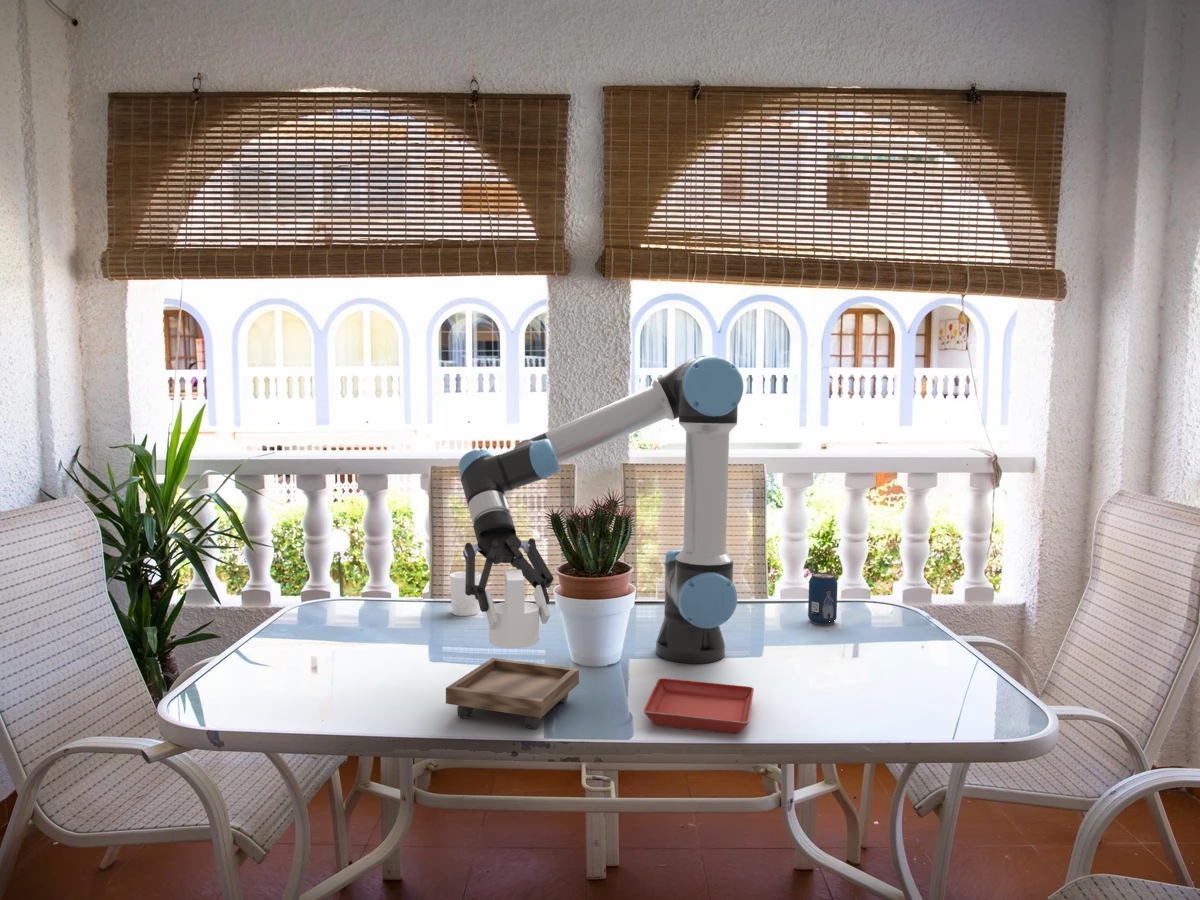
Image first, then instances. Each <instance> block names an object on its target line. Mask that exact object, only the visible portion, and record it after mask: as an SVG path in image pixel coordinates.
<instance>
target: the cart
mask: <svg viewBox="0 0 1200 900" xmlns="http://www.w3.org/2000/svg"><path fill="white" fill-rule="evenodd" d="M579 684H580V668H575V667H568V666H561V665H551V664H544V663H537V662H536V663H535V662H528V661H519V660H512V659H505V658H504V659H503V658H497V657H496V658H495V657H492V658H489V659H488V660H486V661H485V662H484V663H482V664H480V665H479V666H477V667H476V668H474V669H473V670H471V671H469V672H468V673H467V674H465V675H464V676H462V677H461V678H459V679H457V680H456V681H454V682H453V683H451V684H450V685H448V686H447V687H445V705H451V706H452V705H453V706H457V712H456V713H457V716H458V718H463V719H470V718H471V717H472V715H473V712H474V709H480V710H487V711H492V712H493V711H494V712H500V713H507V714H513V715H518V716H519V715H520V716H525V717H524V724H525V727H526V728H529V729H534V730H536V729H538V728H539V727H540V724H541V720H542V719H541V718H543V716H545V714H547V713H548V712H549V711H551V709H552V708H553V707H554V706H556V705H557V704H558V703H562V704H565V703H566V702H567V700H568V698H569V693H570V692H571V691H572V690H573V689H574V688H575V687H577V686H578V685H579Z"/></svg>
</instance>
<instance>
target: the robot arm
mask: <svg viewBox="0 0 1200 900" xmlns="http://www.w3.org/2000/svg"><path fill="white" fill-rule="evenodd" d="M743 394H744V381H743V377H742V374H741V372H740V370H739V369H738V367H737V366H736V365H735V364H734V363H733V362H731V361H730V360H728V359H727V358H725V357H721V356H720V355H712V354H708V355H702V356H699V357H694V358H691V359H689V360H687V361H685V362H683V363H681V364H680V365H679V366H677V367H676V368H674V369H673V370H671V371H669V372H667V373H665V374H663V375H661V376H660V377H657V378H655V379H653V382H652V384H651V385H650V386H648V387H645V388H644V389H642V390H639V391H637V392H634V393H631V394H630V395H627V396H625V397H623V398H620V399H618V400H616V401H614V402H612V403H611V402H610V404H607V405H605V406H603V407H600V408H598V409H596V410H594V411H593V410H592V411H591V412H589V413H586V414H584V415H582V416H580V417H579V416H578V417H577V418H575V419H573V420H570V421H569V422H566V423H563V424H561V425H559V426H557V427H555V428H552V429H550V430H548V431H546V432H543V433H542V434H539V435H536V436H534V437H531V438H530V439H525V440H522V441H520V442H519V443H517V444H516V445H515V446H514V448H513V449H511V450H508V451H506V452H503V453H499V454H498V455H497V454H496V455H494V454H493V453H492V452H491V451H489V450H488V449H480V450H478V449H474V450H473V449H472V450H471V451H468V452H466V453H465V454H464V455H463V456H462V457H461V458H460V460H459V462H458V470H459V474H460V475H459V476H460V480H459V481H460V482H461V486H462V489H463V493H464V496H465V500H466V504H467V507H468V511H469V514H470V519H471V523H472V525H473V532H474V534H475V535H474V536H475V539H476V541H477V543H474V544H472V543H470V542H466V543H465V545H464V548H463V550H462V554H463V557H464V559H465V571H466V582H465V593H466V595H468V596H470V595H475V599H477V600H478V602H479V611H481V612H482V613H486V618H487V622H488V627H489V626H490V629H491V630H495V628H496V626H497V623H498V619H497V615H496V611H495V607H494V604H495V603H494V600H493V597H492V592H491V589H486V588H487V583H488V580H489V577H490V573H491V570H492V566H493V565H499V564H510V566H512V567H513V568H516V569H520V570H521V571H522V574H523V577H524V579H526V581H527V582H528V583H529V584H530V585H531V586H532V587H533V588H534V591H533V592H532V594H533V599H534V601H535V604H536V605H538V606H539V619H540V622H541V624H542V625H545V624H547V623H548V620H549V619H550V617H551V613H550V610H549V608H548V604H549V602H550V597H549V593H548V590H547V589H548V588H551V586H552V583H553V582H554V576H553V575H552V573H551V571H550V569H549V567H548V565H547V564H546V561H545V560H544V559H543V558H542V555H541V554H540V553H539V550H538V549H537V544H536V540H535V538H532V537H531V538H529V539H528V540H522V539H520V538H519V536H518V534H517V531H516V527H515V524H514V521H513V518H512V515H511V510H510V506H509V504H508V499H507V497H506V494H505V493H507V492H509V491H513V490H514V489H518V488H521V487H523V486H526V485H529V484H533V483H535V482H539V481H541V480H546V479H548V478H549V477H552V476H553V475H554V476H555V475H556V474H558V473H559V472H560V470H561V467H560V465H561V464H563V463H566V462H569V461H570V460H573V459H574V458H577V457H579V456H581V455H582V456H583V455H584V454H586V453H589V452H591V451H593V450H595V449H597V448H600V447H603V446H604V445H607V444H609V443H611V442H614V441H616V440H619V439H621V438H624V437H626V436H628V435H630V434H632V433H635V432H638V431H639V430H641V429H644V428H647V427H649V426H650V425H653V424H655V423H656V424H657V423H658V422H660V421H662V420H665V419H667V420H670V421H674V420H676V419H678V425H680V426H681V427H682V428H683V430H684V431H685V464H684V465H685V466H684V467H685V468H684V469H685V470H684V472H685V473H684V505H683V507H684V508H683V509H684V511H683V512H684V513H683V514H684V515H683V543H682V544H683V546H682V547H683V548H682V549H672V550H671V549H670V550H668V551H667V552H666V554H665V560H664V563H663V564H664V567H665V568H664V569H665V570H664V573H665V574H664V618H663V620H662V621H663V622H662V624H661V626H660V630H659V633H658V635H657V638H656V641H655V653H656V654H657V655H658V656H659V657H661V658H662V659H664V660H668V661H671V662H677V663H682V664H706V663H712V662H717V661H719V660H721V659H723V658H724V657H725V655H726V645H725V641H724V636H723V634H722V631H721V627H720V626H722V625H723V624H725V623H726V622H727V621H728V620H729V619H731V618H732V616H733V615H734V614H735V613H734V612H735V611H736V608H737V605H738V595H737V594H738V593H737V589H736V586H735V585H734V583H733V579H734V577H733V576H734V558H733V557H732V555H731V554H730V553H728V551H727V527H728V526H727V524H728V523H727V519H728V518H727V517H728V489H729V488H728V485H729V482H728V481H729V453H730V452H729V449H730V433H731V431H732V430H733V429H734V428H735V427H736V426H737V425H738V412H739V411H738V409H739V408H738V407H739V404H740V401H741V399H742V397H743ZM520 549H522V550H523V552H522V551H521V550H520ZM478 553H479V554H480V555H482V556H483V557H484V558H485V561H484V566H483V570H482V573H481V579H480V582H479V585H475V572H476V555H477V554H478ZM523 553H524V554H526V556H527V559H528V560H529V562H530V563H531V564H530V563H529V562H528V560H527V559H526V558H525V557H524V554H523Z"/></svg>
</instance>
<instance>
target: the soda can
mask: <svg viewBox="0 0 1200 900" xmlns="http://www.w3.org/2000/svg"><path fill="white" fill-rule="evenodd" d="M807 601H808V604H807V606H808V607H807V617H808V619H809V621H810V622H811V623H812V624H814V625H820V626H831V625H834V623H835V622H836V620H837V617H838V614H837V613H838V609H837V608H838V581H837V578H836V575H835V574H833V573H831V572H830V573H829V572H813V573H811V577H810V578H809V580H808V599H807ZM834 620H835V621H834ZM829 621H830V622H829Z"/></svg>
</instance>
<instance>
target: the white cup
mask: <svg viewBox="0 0 1200 900" xmlns="http://www.w3.org/2000/svg"><path fill="white" fill-rule="evenodd" d="M481 575H482V573H480V572H477V571H475V585H479V582H480V579H481ZM465 582H466V570H464V571H456V572H452V573H450V574H449V585H450V586H449V587H450V590H449V591H450V601H451V602H450V603H451V612H452V614H453V615H454V616H458V617H468V616H470V617H471V616H476V615H477V614H479V613H480V612H479V611H480V606H479V602H478V600H477V599H475V595H470V596H468V595H466V593H465Z"/></svg>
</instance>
